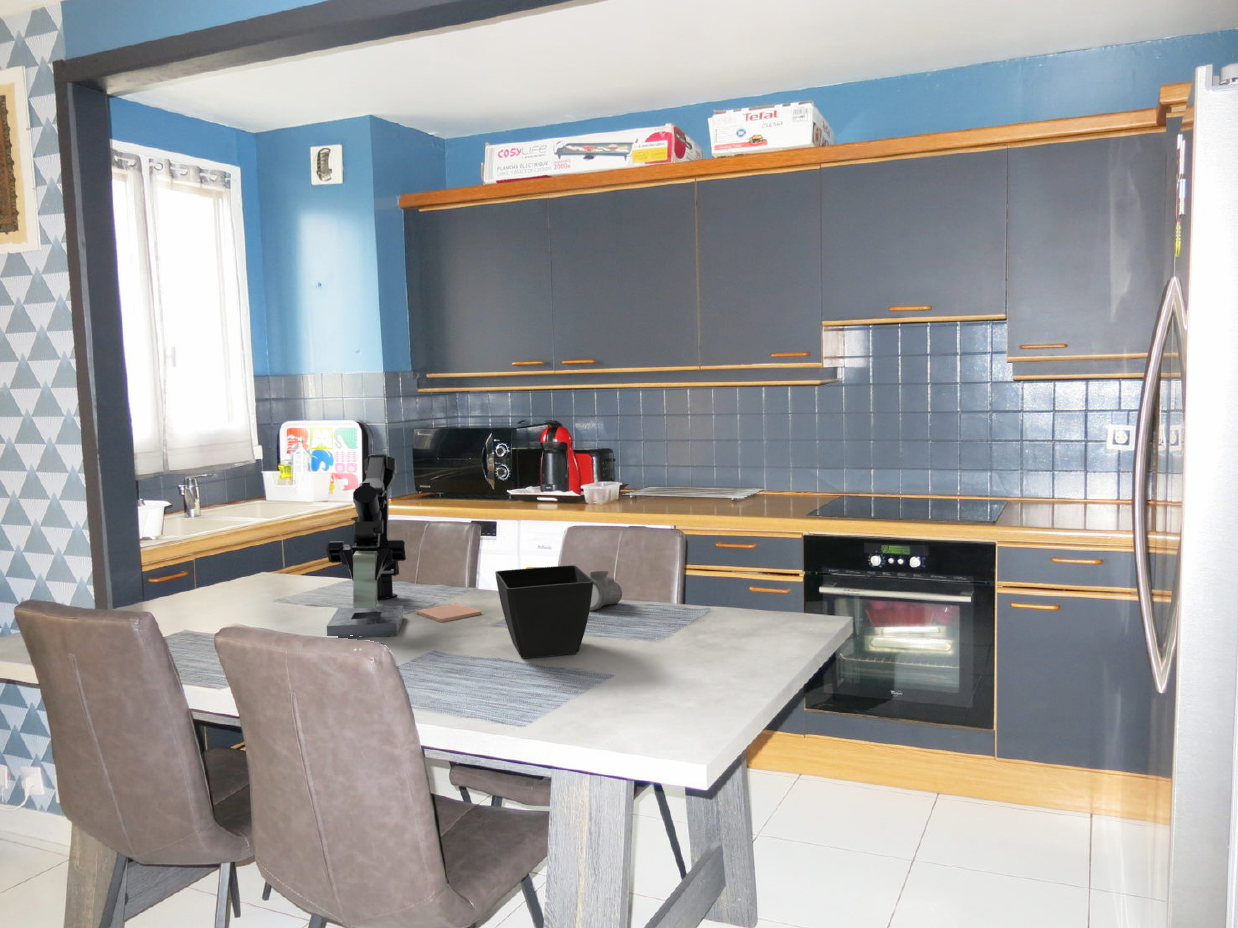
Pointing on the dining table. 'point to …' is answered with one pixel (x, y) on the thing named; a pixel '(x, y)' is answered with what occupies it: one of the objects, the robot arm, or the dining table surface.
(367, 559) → the square plug
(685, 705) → the dining table surface
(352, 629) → the socket plate
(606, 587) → the pipe fitting
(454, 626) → the dining table surface
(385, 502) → the robot arm
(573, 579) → the flower pot
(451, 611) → the terracotta pad
